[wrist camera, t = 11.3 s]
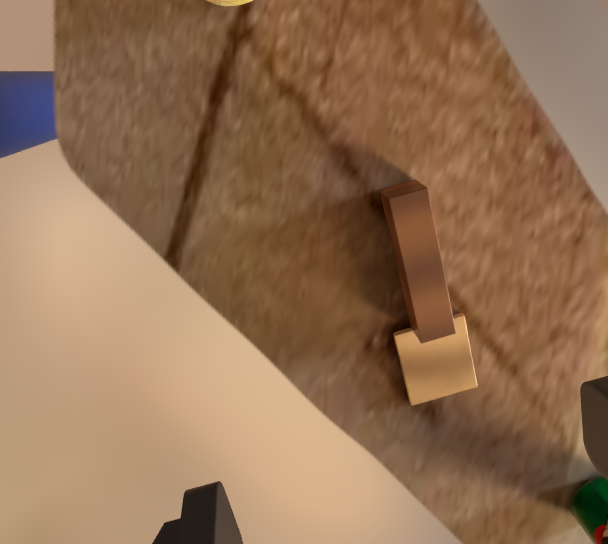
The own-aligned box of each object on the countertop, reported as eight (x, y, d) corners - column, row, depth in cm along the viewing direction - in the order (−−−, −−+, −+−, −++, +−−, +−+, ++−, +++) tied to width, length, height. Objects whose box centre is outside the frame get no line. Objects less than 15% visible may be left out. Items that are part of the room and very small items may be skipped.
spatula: (358, 196, 34) (366, 205, 31) (435, 173, 34) (449, 180, 31) (409, 402, 39) (419, 423, 37) (475, 383, 39) (489, 402, 37)
